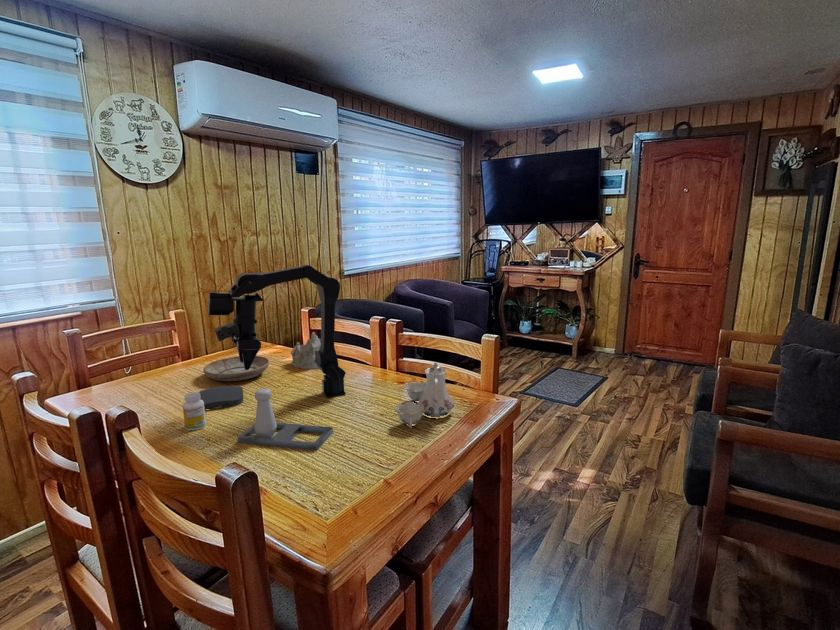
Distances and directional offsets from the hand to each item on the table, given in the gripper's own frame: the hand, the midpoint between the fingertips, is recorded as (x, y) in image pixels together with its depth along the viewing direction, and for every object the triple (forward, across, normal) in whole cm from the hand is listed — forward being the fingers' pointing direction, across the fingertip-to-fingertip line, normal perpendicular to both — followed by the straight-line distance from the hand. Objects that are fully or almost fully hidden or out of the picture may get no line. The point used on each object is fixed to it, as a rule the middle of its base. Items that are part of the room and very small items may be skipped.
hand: (244, 365), depth 137 cm
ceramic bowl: (+14, -36, +3) cm, 39 cm away
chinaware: (+10, +30, +48) cm, 57 cm away
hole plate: (+14, +25, +7) cm, 30 cm away
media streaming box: (+16, -13, -6) cm, 21 cm away
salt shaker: (+14, +21, +3) cm, 26 cm away
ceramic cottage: (+11, -37, +33) cm, 51 cm away
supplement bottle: (+16, +6, -14) cm, 22 cm away
